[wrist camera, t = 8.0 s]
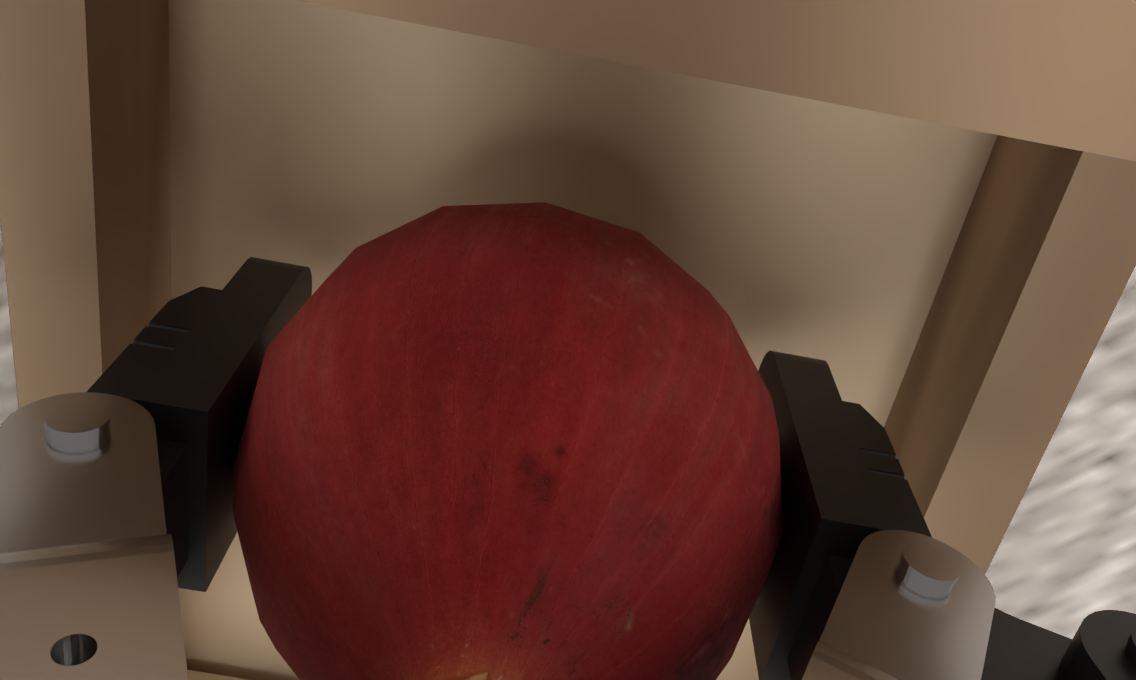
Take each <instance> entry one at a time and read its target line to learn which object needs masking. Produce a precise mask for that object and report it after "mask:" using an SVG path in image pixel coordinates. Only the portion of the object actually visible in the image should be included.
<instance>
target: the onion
mask: <svg viewBox="0 0 1136 680" xmlns="http://www.w3.org/2000/svg"><path fill="white" fill-rule="evenodd" d="M232 505H233V516H234V520H235V524H236V528H237V532H238V536H239V540H240V544H241V548H242V552H243V556H244V561H245V565H246V569H247V573H248V577H249V581H250V585H251V589H252V593H253V597H254V601H255V605H256V608H257V612H258V616H259V620H260V622H261V624H262V626H263V627H264V629H265V631H266V633H267V634H268V636H269V638H270V640H271V642H272V643H273V645H274V647H275V649H276V650H277V651H278V653H279V654H280V655H281V656H282V658H283V659H284V660H285V662H286V663H287V664H288V666H289V667H290V668H291V669H292V671H293V672H294V673H295V675H296V676H297V677H298V679H299V680H716V679H717V678H718V676H719V675H720V673H721V672H722V671H723V669H724V668H725V666H726V665H727V664H728V662H729V661H730V659H731V658H732V656H733V653H734V651H735V649H736V646H737V644H738V642H739V640H740V637H741V635H742V633H743V630H744V628H745V626H746V623H747V621H748V619H749V617H750V614H751V612H752V610H753V607H754V605H755V603H756V600H757V598H758V596H759V594H760V591H761V589H762V587H763V584H764V582H765V580H766V578H767V575H768V573H769V571H770V568H771V566H772V563H773V560H774V557H775V554H776V551H777V548H778V546H779V543H780V540H781V537H782V534H783V520H782V495H781V470H780V445H779V432H778V427H777V422H776V416H775V411H774V406H773V400H772V397H771V395H770V393H769V391H768V389H767V387H766V385H765V383H764V382H763V380H762V378H761V376H760V374H759V372H758V370H757V368H756V366H755V364H754V362H753V360H752V359H751V357H750V355H749V353H748V351H747V349H746V347H745V345H744V343H743V341H742V339H741V337H740V336H739V334H738V332H737V330H736V328H735V326H734V324H733V322H732V320H731V318H730V316H729V315H728V314H727V312H726V311H725V310H724V309H723V308H722V306H721V305H720V304H719V303H718V302H717V300H716V299H715V298H714V297H713V296H712V295H711V293H710V292H709V291H708V290H707V289H706V288H704V287H703V286H702V285H701V284H700V283H699V282H697V281H696V280H695V279H694V278H693V277H692V276H690V275H689V274H688V273H687V272H686V271H685V270H683V269H682V268H681V267H680V266H679V265H677V264H676V263H675V262H674V261H673V260H672V259H670V258H669V257H668V256H667V255H666V254H665V253H663V252H662V251H661V250H660V249H659V248H657V247H656V246H655V245H654V244H653V243H652V242H650V241H649V240H648V239H647V238H646V237H645V236H643V235H642V234H641V233H640V232H637V231H634V230H631V229H628V228H624V227H621V226H618V225H615V224H612V223H609V222H606V221H603V220H599V219H596V218H593V217H590V216H587V215H584V214H581V213H578V212H574V211H571V210H568V209H565V208H562V207H559V206H556V205H553V204H549V203H546V202H538V203H511V204H484V205H457V206H442V207H440V208H438V209H436V210H434V211H432V212H429V213H427V214H425V215H423V216H421V217H419V218H417V219H415V220H413V221H411V222H409V223H407V224H404V225H402V226H400V227H398V228H396V229H394V230H392V231H390V232H388V233H386V234H384V235H382V236H379V237H377V238H375V239H373V240H371V241H369V242H367V243H365V244H363V245H361V246H359V247H357V248H355V249H354V250H353V251H352V252H351V253H350V254H349V255H348V257H347V258H346V259H345V260H344V261H343V262H342V263H341V264H340V265H339V266H338V267H337V268H336V269H335V270H334V271H333V272H332V273H331V274H330V275H329V276H328V278H327V279H326V280H325V281H324V282H323V283H322V284H321V286H320V287H319V288H318V289H317V290H316V291H315V292H314V294H313V295H312V296H311V297H310V298H309V299H308V301H307V302H306V303H305V304H304V305H303V306H302V307H301V309H300V310H299V311H298V312H297V313H296V314H295V315H294V317H293V318H292V319H291V320H290V321H289V322H288V323H287V325H286V326H285V327H284V328H283V329H282V330H281V331H280V333H279V334H278V335H277V336H276V337H275V338H274V340H273V341H272V342H271V343H270V344H269V345H268V346H267V349H266V353H265V356H264V360H263V363H262V367H261V370H260V374H259V377H258V381H257V385H256V388H255V392H254V395H253V399H252V402H251V406H250V409H249V413H248V416H247V420H246V423H245V427H244V430H243V434H242V437H241V441H240V444H239V448H238V451H237V455H236V458H235V462H234V465H233V469H232Z"/></svg>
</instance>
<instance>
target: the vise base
mask: <svg viewBox="0 0 1136 680" xmlns="http://www.w3.org/2000/svg"><path fill="white" fill-rule="evenodd" d="M538 202H546V203H549V204H553V205H556V206H559V207H562V208H565V209H568V210H571V211H574V212H578V213H581V214H584V215H587V216H590V217H593V218H596V219H599V220H603V221H606V222H609V223H612V224H615V225H618V226H621V227H624V228H628V229H631V230H634V231H637V232H640V233H641V234H642V235H643V236H645V237H646V238H647V239H648V240H649V241H650V242H652V243H653V244H654V245H655V246H656V247H657V248H659V249H660V250H661V251H662V252H663V253H665V254H666V255H667V256H668V257H669V258H670V259H672V260H673V261H674V262H675V263H676V264H677V265H679V266H680V267H681V268H682V269H683V270H685V271H686V272H687V273H688V274H689V275H690V276H692V277H693V278H694V279H695V280H696V281H697V282H699V283H700V284H701V285H702V286H703V287H704V288H706V289H707V290H708V291H709V292H710V293H711V295H712V296H713V297H714V298H715V299H716V300H717V302H718V303H719V304H720V305H721V306H722V308H723V309H724V310H725V311H726V312H727V314H728V315H729V316H730V318H731V320H732V322H733V324H734V326H735V328H736V330H737V332H738V334H739V336H740V337H741V339H742V341H743V343H744V345H745V347H746V349H747V351H748V353H749V355H750V357H751V359H752V360H753V362H754V364H755V366H756V368H757V370H759V367H760V364H761V362H762V360H763V358H764V356H765V354H766V353H767V352H768V351H776V352H781V353H787V354H792V355H798V356H803V357H809V358H815V359H820V360H825V361H826V362H827V363H828V365H829V368H830V370H831V373H832V376H833V378H834V381H835V383H836V386H837V389H838V391H839V394H840V397H841V399H842V401H846V402H852V403H857V404H860V405H861V406H862V407H863V408H864V409H865V410H866V411H867V412H869V413H870V414H871V415H872V416H873V417H874V418H875V419H876V420H877V421H878V422H879V423H880V424H881V425H882V426H883V427H884V428H885V430H886V432H887V434H888V437H889V439H890V441H891V444H892V446H893V448H894V451H895V453H896V455H895V458H896V459H898V460H899V462H900V464H901V467H902V469H903V471H904V474H905V476H904V479H905V480H907V481H908V483H909V485H910V487H911V490H912V492H913V494H914V497H915V499H916V501H917V504H918V506H919V508H920V510H921V513H922V515H923V517H924V520H925V522H926V524H927V527H928V529H929V531H930V534H931V536H932V538H934V539H937V540H939V541H941V542H943V543H945V544H947V545H949V546H951V547H952V548H954V549H956V550H957V551H959V552H960V553H962V554H963V555H965V556H966V557H967V558H969V559H970V560H971V561H972V562H973V563H974V564H975V565H977V566H978V568H979V569H980V570H981V571H982V572H983V573H984V574H985V573H986V571H987V569H988V567H989V565H990V563H991V561H992V559H993V557H994V555H995V553H996V551H997V549H998V547H999V545H1000V543H1001V541H1002V538H1003V536H1004V534H1005V532H1006V530H1007V528H1008V526H1009V524H1010V522H1011V520H1012V518H1013V516H1014V514H1015V512H1016V510H1017V508H1018V506H1019V504H1020V501H1021V499H1022V497H1023V495H1024V493H1025V491H1026V489H1027V487H1028V485H1029V483H1030V481H1031V479H1032V477H1033V475H1034V473H1035V471H1036V469H1037V467H1038V465H1039V462H1040V460H1041V458H1042V456H1043V454H1044V452H1045V450H1046V448H1047V446H1048V444H1049V442H1050V440H1051V438H1052V436H1053V434H1054V432H1055V430H1056V428H1057V426H1058V423H1059V421H1060V419H1061V417H1062V415H1063V413H1064V411H1065V409H1066V407H1067V405H1068V403H1069V401H1070V399H1071V397H1072V395H1073V393H1074V391H1075V389H1076V386H1077V384H1078V382H1079V380H1080V378H1081V376H1082V374H1083V372H1084V370H1085V368H1086V366H1087V364H1088V362H1089V360H1090V358H1091V356H1092V354H1093V352H1094V350H1095V347H1096V345H1097V343H1098V341H1099V339H1100V337H1101V335H1102V333H1103V331H1104V329H1105V327H1106V325H1107V323H1108V321H1109V319H1110V317H1111V315H1112V313H1113V310H1114V308H1115V306H1116V304H1117V302H1118V300H1119V298H1120V296H1121V294H1122V292H1123V290H1124V288H1125V286H1126V284H1127V282H1128V280H1129V278H1130V276H1131V274H1132V271H1133V269H1134V267H1135V265H1136V0H0V219H1V229H2V240H3V250H4V261H5V272H6V282H7V293H8V303H9V314H10V324H11V335H12V345H13V356H14V366H15V377H16V388H17V398H18V409H20V408H22V407H24V406H26V405H28V404H30V403H32V402H35V401H38V400H40V399H44V398H47V397H51V396H56V395H61V394H67V393H78V392H87V391H88V389H89V388H90V387H91V386H92V385H93V384H94V383H95V382H96V381H97V379H98V378H99V377H100V376H101V375H102V374H103V373H104V372H105V371H106V370H107V368H108V367H109V366H110V365H111V364H112V363H113V362H114V361H115V360H116V358H117V357H118V356H119V355H120V354H121V353H122V352H123V351H124V350H125V349H126V347H127V346H128V345H129V344H133V343H134V339H135V338H136V336H137V335H138V334H139V333H140V332H141V331H142V330H143V329H144V328H145V326H148V327H149V322H150V321H151V320H152V319H153V318H154V317H155V315H156V314H157V313H158V312H159V311H160V310H161V309H162V308H163V307H164V305H165V304H166V303H167V302H168V301H170V300H172V299H174V298H177V297H179V296H181V295H183V294H185V293H188V292H190V291H192V290H194V289H196V288H199V287H201V286H202V287H208V288H214V289H219V290H223V288H224V287H225V286H226V285H227V283H228V282H229V281H230V280H231V279H232V277H233V276H234V275H235V274H236V272H237V271H238V270H239V269H240V267H241V266H242V265H243V264H244V263H245V261H246V260H247V259H248V258H250V257H255V258H261V259H266V260H272V261H277V262H283V263H289V264H294V265H300V266H306V267H309V268H310V270H311V274H312V295H313V294H314V292H315V291H316V290H317V289H318V288H319V287H320V286H321V284H322V283H323V282H324V281H325V280H326V279H327V278H328V276H329V275H330V274H331V273H332V272H333V271H334V270H335V269H336V268H337V267H338V266H339V265H340V264H341V263H342V262H343V261H344V260H345V259H346V258H347V257H348V255H349V254H350V253H351V252H352V251H353V250H354V249H355V248H357V247H359V246H361V245H363V244H365V243H367V242H369V241H371V240H373V239H375V238H377V237H379V236H382V235H384V234H386V233H388V232H390V231H392V230H394V229H396V228H398V227H400V226H402V225H404V224H407V223H409V222H411V221H413V220H415V219H417V218H419V217H421V216H423V215H425V214H427V213H429V212H432V211H434V210H436V209H438V208H440V207H442V206H457V205H484V204H511V203H538ZM312 295H311V296H312ZM178 591H179V600H180V609H181V618H182V627H183V636H184V645H185V654H186V662H187V670H193V671H199V672H205V673H211V674H217V675H224V676H230V677H236V678H242V679H248V680H299V679H298V677H297V676H296V675H295V673H294V672H293V671H292V669H291V668H290V667H289V666H288V664H287V663H286V662H285V660H284V659H283V658H282V656H281V655H280V654H279V653H278V651H277V650H276V649H275V647H274V645H273V643H272V642H271V640H270V638H269V636H268V634H267V633H266V631H265V629H264V627H263V626H262V624H261V622H260V620H259V616H258V612H257V608H256V605H255V601H254V597H253V593H252V589H251V585H250V581H249V577H248V573H247V569H246V565H245V561H244V556H243V552H242V548H241V544H240V540H239V536H238V532H237V533H236V535H235V537H234V539H233V541H232V543H231V545H230V547H229V549H228V551H227V553H226V555H225V556H224V558H223V560H222V562H221V564H220V566H219V568H218V570H217V572H216V574H215V576H214V578H213V579H212V581H211V583H210V585H209V587H208V589H207V591H206V592H201V591H195V590H189V589H182V588H178ZM716 680H759V677H758V671H757V665H756V659H755V653H754V646H753V640H752V634H751V628H750V622H749V619H748V621H747V623H746V626H745V628H744V630H743V633H742V635H741V637H740V640H739V642H738V644H737V646H736V649H735V651H734V653H733V656H732V658H731V659H730V661H729V662H728V664H727V665H726V666H725V668H724V669H723V671H722V672H721V673H720V675H719V676H718V678H717V679H716Z"/></svg>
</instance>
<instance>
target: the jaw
mask: <svg viewBox="0 0 1136 680" xmlns="http://www.w3.org/2000/svg"><path fill="white" fill-rule="evenodd" d="M187 671H188V680H248V679H242V678H236V677H230V676H224V675H217V674H211V673H205V672H199V671H193V670H187Z"/></svg>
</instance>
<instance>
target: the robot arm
mask: <svg viewBox="0 0 1136 680" xmlns="http://www.w3.org/2000/svg"><path fill="white" fill-rule="evenodd" d="M311 295H312V274H311V270H310V268H309V267H306V266H300V265H294V264H289V263H283V262H277V261H272V260H266V259H261V258H255V257H250V258H248V259H247V260H246V261H245V263H244V264H243V265H242V266H241V267H240V269H239V270H238V271H237V272H236V274H235V275H234V276H233V277H232V279H231V280H230V281H229V282H228V283H227V285H226V286H225V287H224V288H223V290H219V289H214V288H208V287H202V286H201V287H199V288H196V289H194V290H192V291H190V292H188V293H185V294H183V295H181V296H179V297H177V298H174V299H172V300H170V301H168V302H167V303H166V304H165V305H164V307H163V308H162V309H161V310H160V311H159V312H158V313H157V314H156V315H155V317H154V318H153V319H152V320H151V321H150V322H149V327H148V326H145V328H144V329H143V330H142V331H141V332H140V333H139V334H138V335H137V336H136V338H135V339H134V343H133V344H129V345H128V346H127V347H126V349H125V350H124V351H123V352H122V353H121V354H120V355H119V356H118V357H117V358H116V360H115V361H114V362H113V363H112V364H111V365H110V366H109V367H108V368H107V370H106V371H105V372H104V373H103V374H102V375H101V376H100V377H99V378H98V379H97V381H96V382H95V383H94V384H93V385H92V386H91V387H90V388H89V389H88V391H87V392H78V393H67V394H61V395H56V396H51V397H47V398H44V399H40V400H38V401H35V402H32V403H30V404H28V405H26V406H24V407H22V408H20V409H18V410H17V411H15V412H14V413H13V414H11V415H10V416H9V417H8V418H7V419H6V420H5V421H4V422H3V423H2V425H1V427H0V680H188V671H187V662H186V654H185V645H184V636H183V627H182V618H181V609H180V600H179V591H178V588H182V589H189V590H195V591H201V592H206V591H207V589H208V587H209V585H210V583H211V581H212V579H213V578H214V576H215V574H216V572H217V570H218V568H219V566H220V564H221V562H222V560H223V558H224V556H225V555H226V553H227V551H228V549H229V547H230V545H231V543H232V541H233V539H234V537H235V535H236V533H237V528H236V524H235V520H234V516H233V505H232V469H233V465H234V462H235V458H236V455H237V451H238V448H239V444H240V441H241V437H242V434H243V430H244V427H245V423H246V420H247V416H248V413H249V409H250V406H251V402H252V399H253V395H254V392H255V388H256V385H257V381H258V377H259V374H260V370H261V367H262V363H263V360H264V356H265V353H266V349H267V346H268V345H269V344H270V343H271V342H272V341H273V340H274V338H275V337H276V336H277V335H278V334H279V333H280V331H281V330H282V329H283V328H284V327H285V326H286V325H287V323H288V322H289V321H290V320H291V319H292V318H293V317H294V315H295V314H296V313H297V312H298V311H299V310H300V309H301V307H302V306H303V305H304V304H305V303H306V302H307V301H308V299H309V298H310V297H311ZM758 372H759V374H760V376H761V378H762V380H763V382H764V383H765V385H766V387H767V389H768V391H769V393H770V395H771V397H772V400H773V406H774V411H775V416H776V422H777V427H778V432H779V445H780V470H781V495H782V520H783V534H782V537H781V540H780V543H779V546H778V548H777V551H776V554H775V557H774V560H773V563H772V566H771V568H770V571H769V573H768V575H767V578H766V580H765V582H764V584H763V587H762V589H761V591H760V594H759V596H758V598H757V600H756V603H755V605H754V607H753V610H752V612H751V614H750V617H749V622H750V628H751V634H752V640H753V646H754V653H755V659H756V665H757V671H758V677H759V680H1136V614H1133V613H1129V612H1124V611H1116V610H1103V611H1098V612H1094V613H1092V614H1090V615H1088V616H1087V617H1086V618H1085V619H1084V620H1083V622H1082V623H1081V625H1080V627H1079V629H1078V631H1077V632H1076V634H1075V636H1074V638H1073V640H1072V639H1069V638H1067V637H1064V636H1062V635H1059V634H1056V633H1054V632H1051V631H1049V630H1046V629H1044V628H1041V627H1038V626H1036V625H1033V624H1031V623H1028V622H1025V621H1023V620H1020V619H1018V618H1015V617H1013V616H1011V615H1008V614H1006V613H1004V612H1002V611H1000V610H998V609H996V608H995V594H994V590H993V587H992V585H991V583H990V581H989V580H988V579H987V577H986V576H985V574H984V573H983V572H982V571H981V570H980V569H979V568H978V566H977V565H975V564H974V563H973V562H972V561H971V560H970V559H969V558H967V557H966V556H965V555H963V554H962V553H960V552H959V551H957V550H956V549H954V548H952V547H951V546H949V545H947V544H945V543H943V542H941V541H939V540H937V539H934V538H932V536H931V534H930V531H929V529H928V527H927V524H926V522H925V520H924V517H923V515H922V513H921V510H920V508H919V506H918V504H917V501H916V499H915V497H914V494H913V492H912V490H911V487H910V485H909V483H908V481H907V480H905V479H904V476H905V474H904V471H903V469H902V467H901V464H900V462H899V460H898V459H896V458H895V455H896V453H895V451H894V448H893V446H892V444H891V441H890V439H889V437H888V434H887V432H886V430H885V428H884V427H883V426H882V425H881V424H880V423H879V422H878V421H877V420H876V419H875V418H874V417H873V416H872V415H871V414H870V413H869V412H867V411H866V410H865V409H864V408H863V407H862V406H861V405H860V404H857V403H852V402H846V401H842V399H841V397H840V394H839V391H838V389H837V386H836V383H835V381H834V378H833V376H832V373H831V370H830V368H829V365H828V363H827V362H826V361H825V360H820V359H815V358H809V357H803V356H798V355H792V354H787V353H781V352H776V351H768V352H767V353H766V354H765V356H764V358H763V360H762V362H761V364H760V367H759V370H758Z"/></svg>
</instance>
